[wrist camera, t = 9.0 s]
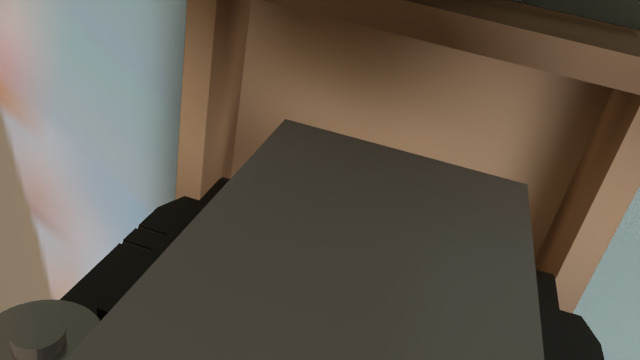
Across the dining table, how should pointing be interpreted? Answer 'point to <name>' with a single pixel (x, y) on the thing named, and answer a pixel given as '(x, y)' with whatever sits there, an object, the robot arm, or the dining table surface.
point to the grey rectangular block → (338, 264)
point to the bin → (430, 101)
